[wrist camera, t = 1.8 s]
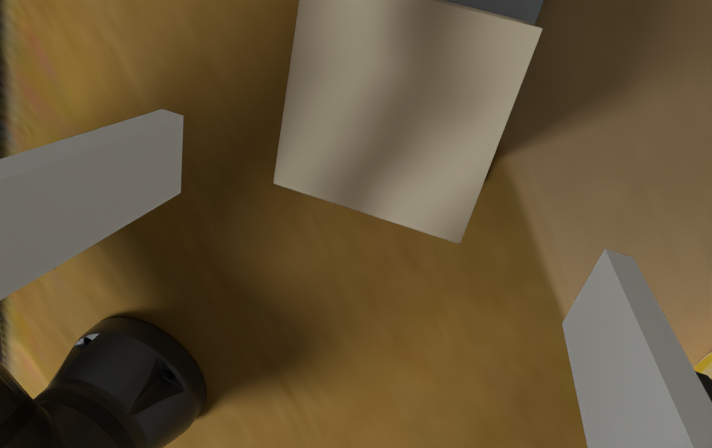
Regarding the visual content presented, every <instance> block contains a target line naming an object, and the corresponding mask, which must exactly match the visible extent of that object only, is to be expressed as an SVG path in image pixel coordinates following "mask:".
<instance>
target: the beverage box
mask: <svg viewBox="0 0 712 448" xmlns="http://www.w3.org/2000/svg"><path fill="white" fill-rule="evenodd" d="M693 369H694V370H695V371H696V372H699V373H702V374H705V375H708V376H709V377H710V378H711V379H712V351H711V352H710V353H709V354H707V355H706V356H705V357H704V358H703V359H702V360H701V361H700V362H699V363H697V364H696V365H695V366H694V367H693Z"/></svg>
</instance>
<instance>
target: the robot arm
mask: <svg viewBox="0 0 712 448" xmlns="http://www.w3.org/2000/svg"><path fill="white" fill-rule="evenodd" d="M182 144H183V115H180V114H177V113H173V112H170V111H167V110H164V109H160V110H157V111H154V112H151V113H148V114H144V115H141V116H138V117H135V118H131V119H128V120H125V121H122V122H119V123H115V124H112V125H109V126H106V127H102V128H99V129H96V130H93V131H90V132H86V133H83V134H80V135H77V136H73V137H70V138H67V139H64V140H61V141H57V142H54V143H51V144H48V145H44V146H41V147H38V148H35V149H31V150H28V151H25V152H22V153H19V154H15V155H12V156H9V157H6V158H2V159H0V300H2V299H3V298H5V297H7V296H8V295H10V294H12V293H13V292H15V291H17V290H18V289H20V288H22V287H23V286H25V285H27V284H28V283H30V282H32V281H33V280H35V279H37V278H39V277H40V276H42V275H44V274H45V273H47V272H49V271H50V270H52V269H54V268H55V267H57V266H59V265H60V264H62V263H64V262H65V261H67V260H69V259H70V258H72V257H74V256H76V255H77V254H79V253H81V252H82V251H84V250H86V249H87V248H89V247H91V246H92V245H94V244H96V243H97V242H99V241H101V240H102V239H104V238H106V237H107V236H109V235H111V234H113V233H114V232H116V231H118V230H119V229H121V228H123V227H124V226H126V225H128V224H129V223H131V222H133V221H134V220H136V219H138V218H139V217H141V216H143V215H144V214H146V213H148V212H150V211H151V210H153V209H155V208H156V207H158V206H160V205H161V204H163V203H165V202H166V201H168V200H170V199H171V198H173V197H175V196H176V195H178V194H180V193H181V172H182ZM562 326H563V330H564V335H565V340H566V345H567V350H568V355H569V359H570V364H571V369H572V374H573V379H574V383H575V388H576V393H577V398H578V403H579V408H580V412H581V417H582V422H583V427H584V432H585V436H586V441H587V446H588V448H712V379H711V378H710V377H709V376H708V375H705V374H702V373H699V372H696V371H695V370H694V369H693V367H692V365H691V363H690V361H689V359H688V357H687V356H686V354H685V352H684V350H683V348H682V346H681V345H680V343H679V341H678V339H677V337H676V335H675V334H674V332H673V330H672V328H671V326H670V324H669V323H668V321H667V319H666V317H665V315H664V313H663V312H662V310H661V308H660V306H659V304H658V302H657V300H656V299H655V297H654V295H653V293H652V291H651V289H650V288H649V286H648V284H647V282H646V280H645V278H644V277H643V275H642V273H641V271H640V269H639V267H638V266H637V264H636V262H635V260H634V258H633V257H630V256H626V255H623V254H620V253H617V252H614V251H611V250H607V249H604V251H603V253H602V255H601V256H600V258H599V260H598V262H597V263H596V265H595V267H594V269H593V270H592V272H591V274H590V276H589V277H588V279H587V281H586V283H585V284H584V286H583V288H582V290H581V291H580V293H579V295H578V297H577V298H576V300H575V302H574V303H573V305H572V307H571V309H570V310H569V312H568V314H567V316H566V317H565V319H564V321H563V323H562ZM205 398H206V392H205V385H204V382H203V378H202V376H201V374H200V371H199V369H198V368H197V366H196V364H195V363H194V361H193V360H192V358H191V357H190V356H189V355H188V353H187V352H186V351H185V350H184V349H183V348H182V347H181V346H180V345H179V344H178V343H177V342H176V341H175V340H173V339H172V338H171V337H169V336H168V335H167V334H165V333H164V332H162V331H161V330H159V329H157V328H155V327H153V326H151V325H149V324H147V323H145V322H142V321H139V320H135V319H131V318H124V317H115V318H108V319H105V320H103V321H101V322H99V323H97V324H96V325H95V326H94V327H92V328H91V329H90V330H89V331H87V332H86V333H85V334H84V335H82V336H81V337H80V339H79V340H78V341H77V342H76V344H75V345H74V347H73V348H72V350H71V351H70V353H69V354H68V356H67V357H66V359H65V360H64V362H63V364H62V365H61V367H60V368H59V370H58V371H57V373H56V374H55V376H54V378H53V379H52V381H51V382H50V384H49V385H48V387H47V388H46V389H45V390H44V391H43V392H42V393H40V394H39V395H38V396H37V397H36V398H35V399H32V398H31V397H30V396H29V395H28V393H27V392H26V391H25V390H24V389H23V388H22V386H21V385H20V384H19V383H18V382H17V381H16V379H15V378H14V377H13V376H12V375H11V374H10V372H9V371H8V370H7V369H6V368H5V367H4V365H3V364H2V363H1V362H0V448H163V447H165V446H166V445H167V444H169V443H170V442H171V441H173V440H174V439H176V438H177V437H178V436H179V435H181V434H182V433H184V432H185V431H186V430H187V429H188V428H189V427H190V426H191V424H192V423H193V422H194V420H195V419H196V418H197V416H198V415H199V413H200V412H201V411H202V409H203V406H204V403H205Z"/></svg>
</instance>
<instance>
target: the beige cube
mask: <svg viewBox="0 0 712 448" xmlns="http://www.w3.org/2000/svg"><path fill="white" fill-rule="evenodd" d="M541 32H542V28H540V27H538V26H536V25H533V24H531V23H529V22H527V21H523V20H519V19H515V18H511V17H507V16H503V15H499V14H495V13H491V12H487V11H483V10H479V9H475V8H471V7H467V6H463V5H459V4H455V3H451V2H447V1H443V0H299V6H298V13H297V20H296V27H295V34H294V41H293V48H292V55H291V62H290V69H289V76H288V83H287V90H286V97H285V104H284V111H283V118H282V125H281V132H280V139H279V146H278V154H277V161H276V168H275V175H274V182H273V184H276V185H279V186H283V187H286V188H289V189H292V190H295V191H298V192H301V193H304V194H307V195H310V196H313V197H316V198H319V199H323V200H326V201H329V202H332V203H335V204H338V205H341V206H344V207H347V208H350V209H353V210H356V211H359V212H363V213H366V214H369V215H372V216H375V217H378V218H381V219H384V220H387V221H390V222H393V223H396V224H399V225H403V226H406V227H409V228H412V229H415V230H418V231H421V232H424V233H427V234H430V235H433V236H436V237H439V238H443V239H446V240H449V241H452V242H455V243H458V244H460V243H461V240H462V237H463V235H464V232H465V230H466V227H467V224H468V222H469V219H470V217H471V214H472V211H473V209H474V206H475V204H476V201H477V198H478V196H479V193H480V191H481V188H482V185H483V183H484V180H485V178H486V175H487V172H488V170H489V167H490V165H491V162H492V159H493V157H494V154H495V152H496V149H497V146H498V144H499V141H500V139H501V136H502V133H503V131H504V128H505V126H506V123H507V120H508V118H509V115H510V113H511V110H512V107H513V105H514V102H515V100H516V97H517V94H518V92H519V89H520V87H521V84H522V81H523V79H524V76H525V74H526V71H527V68H528V66H529V63H530V61H531V58H532V55H533V53H534V50H535V48H536V45H537V42H538V40H539V37H540V35H541Z"/></svg>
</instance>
